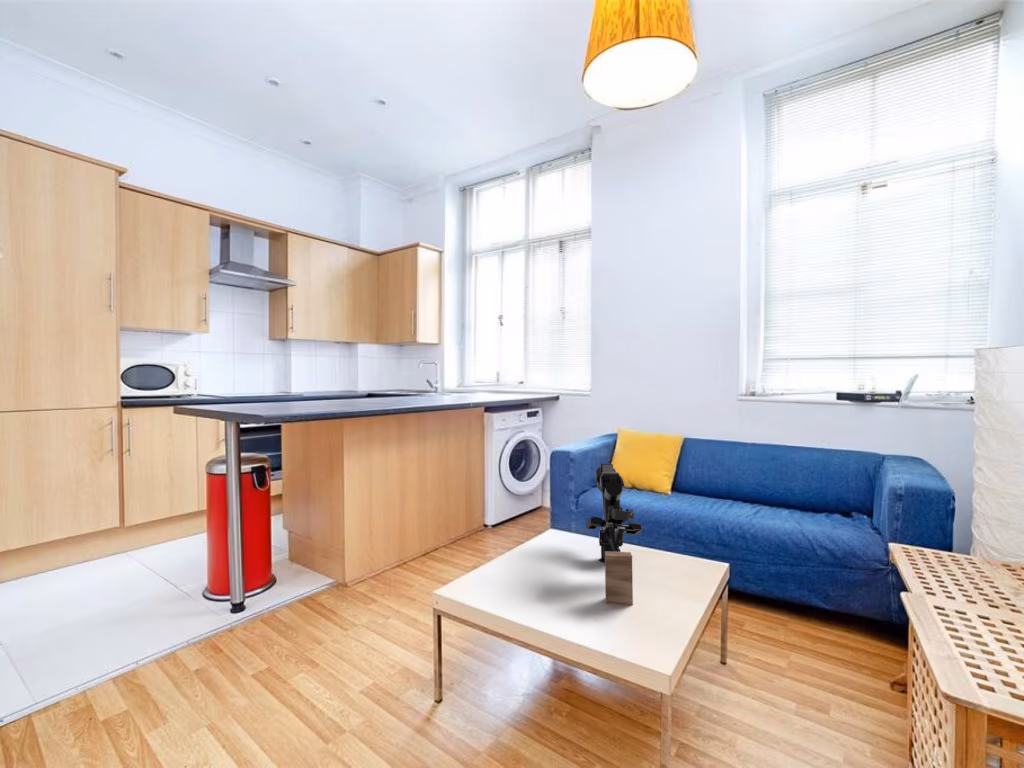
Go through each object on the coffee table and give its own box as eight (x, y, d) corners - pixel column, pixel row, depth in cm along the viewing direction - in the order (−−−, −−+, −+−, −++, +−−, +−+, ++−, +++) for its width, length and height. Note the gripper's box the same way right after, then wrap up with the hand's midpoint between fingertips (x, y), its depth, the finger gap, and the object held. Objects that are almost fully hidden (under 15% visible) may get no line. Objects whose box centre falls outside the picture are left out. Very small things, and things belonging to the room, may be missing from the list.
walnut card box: (605, 598, 141) (604, 551, 141) (631, 599, 140) (630, 552, 140) (606, 603, 137) (605, 555, 137) (632, 605, 136) (632, 556, 136)
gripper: (595, 495, 151) (597, 542, 142) (646, 502, 154) (652, 548, 145) (584, 505, 160) (586, 550, 151) (633, 512, 163) (637, 556, 154)
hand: (615, 551), depth 150 cm, fingers closed
